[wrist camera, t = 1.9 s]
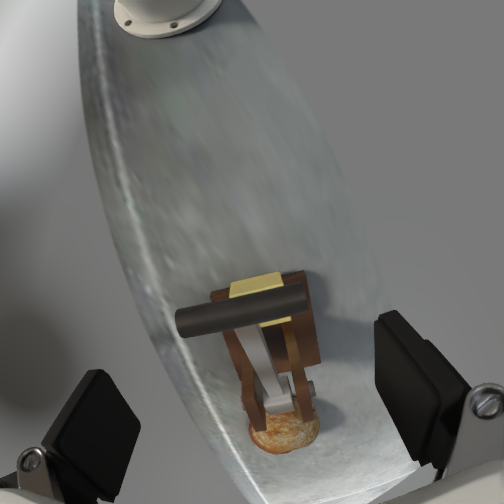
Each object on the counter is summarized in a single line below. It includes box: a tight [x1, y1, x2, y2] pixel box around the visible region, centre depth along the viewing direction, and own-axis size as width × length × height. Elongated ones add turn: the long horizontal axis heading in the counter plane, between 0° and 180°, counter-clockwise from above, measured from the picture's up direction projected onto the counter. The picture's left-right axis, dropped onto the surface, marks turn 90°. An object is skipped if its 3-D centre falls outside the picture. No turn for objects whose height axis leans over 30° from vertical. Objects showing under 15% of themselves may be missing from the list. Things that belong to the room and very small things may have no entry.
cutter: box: [210, 270, 321, 432], centre depth 26 cm, size 12×10×13 cm
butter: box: [229, 271, 291, 327], centre depth 28 cm, size 4×5×3 cm
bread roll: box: [249, 397, 320, 454], centre depth 34 cm, size 10×10×8 cm
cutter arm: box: [175, 282, 308, 415], centre depth 17 cm, size 15×6×2 cm, turn 14°
